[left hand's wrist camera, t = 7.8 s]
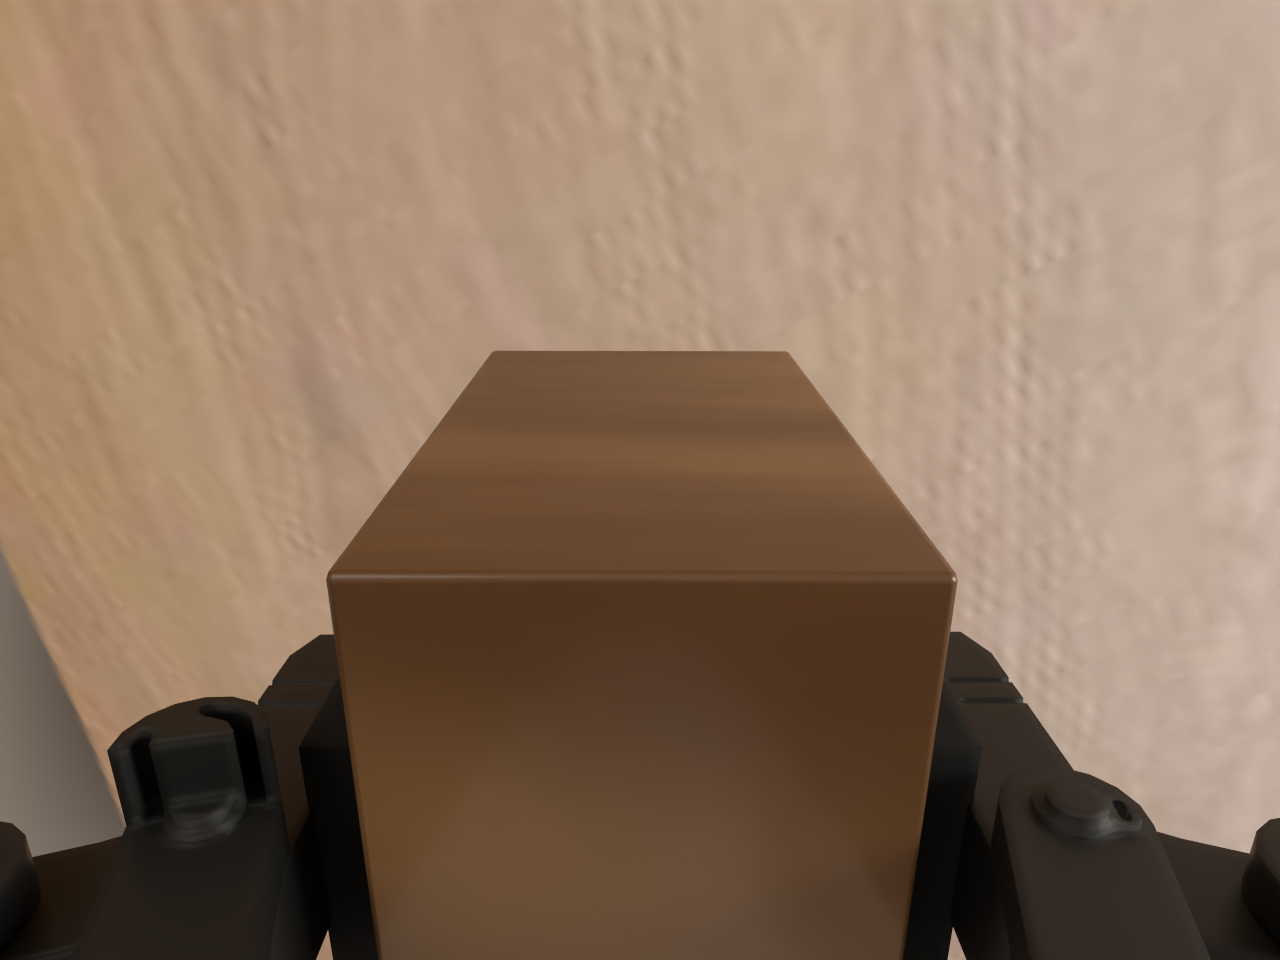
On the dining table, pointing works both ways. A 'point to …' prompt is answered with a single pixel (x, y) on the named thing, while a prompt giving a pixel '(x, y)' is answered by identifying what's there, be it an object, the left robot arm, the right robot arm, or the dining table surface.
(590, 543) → the bar
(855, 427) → the dining table surface
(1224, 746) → the dining table surface
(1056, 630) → the dining table surface
